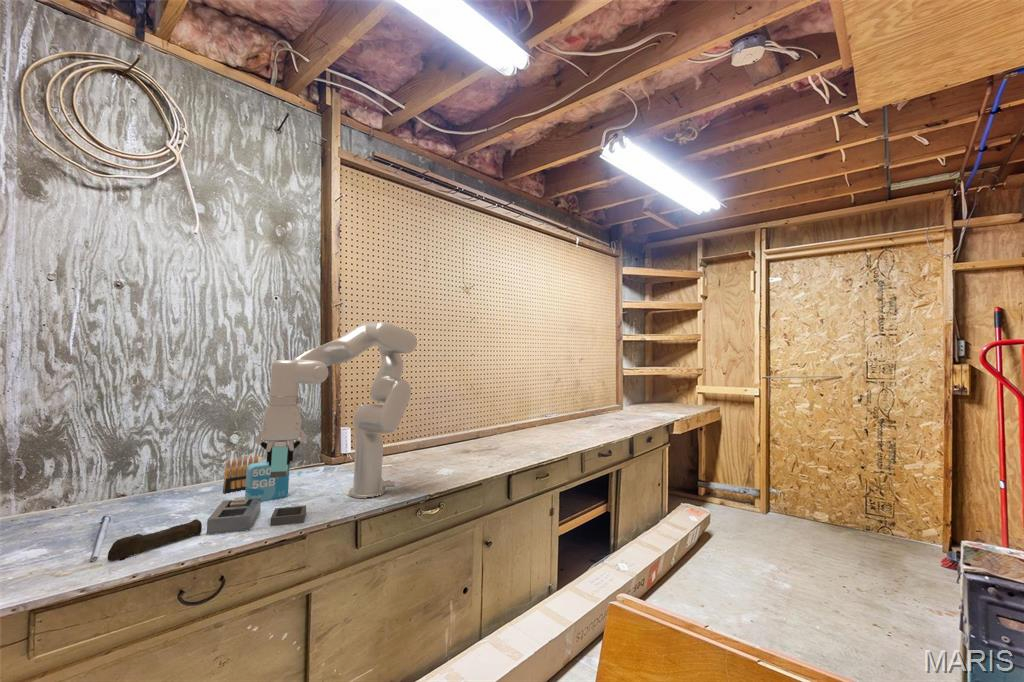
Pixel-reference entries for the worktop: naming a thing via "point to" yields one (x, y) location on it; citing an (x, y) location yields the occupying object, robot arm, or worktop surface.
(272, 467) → the plug
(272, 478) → the data package
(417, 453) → the worktop surface
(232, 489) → the ammunition clip
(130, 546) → the hand tool
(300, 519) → the dark square frame
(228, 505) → the port
